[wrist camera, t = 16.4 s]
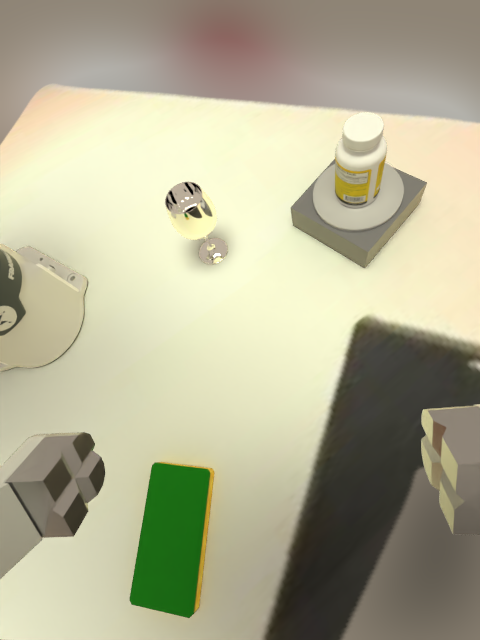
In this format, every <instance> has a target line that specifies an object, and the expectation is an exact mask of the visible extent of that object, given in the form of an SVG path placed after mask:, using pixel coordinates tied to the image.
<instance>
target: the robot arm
mask: <svg viewBox="0 0 480 640" xmlns="http://www.w3.org/2000/svg"><path fill="white" fill-rule="evenodd" d="M87 283H88V281H87V278H86V277H84V276H83V275H81V274H79V273H77V272H75V271H74V270H72V269H70V268H68V267H66V266H65V265H63V264H61V263H59V262H57V261H55V260H54V259H52V258H50V257H48V256H46V255H45V254H43V253H41V252H39V251H37V250H35V249H34V248H32V247H29V246H26V247H23V248H21V249H19V250H17V251H13V250H12V249H10V248H9V247H7V246H6V245H3V244H0V371H4V370H8V369H11V368H14V367H25V368H35V367H40V366H43V365H46V364H48V363H50V362H52V361H54V360H55V359H57V358H58V357H59V356H61V355H62V354H63V353H64V352H65V351H66V350H67V349H68V348H69V347H70V345H71V344H72V343H73V341H74V340H75V338H76V336H77V335H78V333H79V330H80V328H81V325H82V321H83V316H84V303H83V298H84V294H85V291H86V287H87ZM422 426H423V428H424V430H425V432H426V435H425V437H424V438H423V439H422V440H421V449H422V457H423V463H424V467H425V470H426V473H427V476H428V478H429V481H430V483H431V485H432V486H433V487H435V488H436V489H437V490H439V491H440V499H439V504H440V506H441V508H442V511H443V513H444V515H445V517H446V519H447V522H448V524H449V526H450V528H451V531H452V533H453V534H462V535H463V534H464V535H480V404H479V405H474V406H461V407H448V408H434V409H423V412H422ZM94 446H95V443H94V441H93V439H92V437H91V435H90V434H88V433H84V432H80V433H56V434H41V435H34V436H31V437H29V438H28V439H27V440H26V441H25V442H24V443H23V444H22V445H21V446H20V447H19V448H18V449H17V450H16V451H15V452H14V453H13V454H12V456H11V457H10V458H9V459H8V460H7V461H6V462H5V463H4V464H3V465H2V466H1V467H0V579H1V578H2V577H3V576H4V575H5V574H6V573H7V572H8V571H9V570H10V569H11V568H13V567H14V566H15V565H16V564H17V563H18V562H19V561H20V560H21V559H22V558H23V557H24V556H25V555H26V554H27V553H29V552H30V551H31V550H32V549H33V548H34V547H35V546H36V545H37V544H38V543H39V542H40V541H41V540H42V537H67V536H74V535H75V533H76V532H77V530H78V528H79V526H80V525H81V523H82V521H83V519H84V518H85V516H86V514H87V512H88V504H87V503H88V502H89V501H91V500H92V499H93V498H94V497H96V496H97V495H98V493H99V491H100V489H101V487H102V486H103V482H104V477H105V468H104V463H103V461H102V458H101V457H100V456H99V455H98V454H96V453H95V452H94V451H93V448H94ZM0 640H2V639H0Z"/></svg>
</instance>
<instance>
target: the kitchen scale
mask: <svg viewBox="0 0 480 640" xmlns="http://www.w3.org/2000/svg"><path fill="white" fill-rule="evenodd" d="M426 184H427V182H424V181H422V180H420V179H418V178H415V177H413V176H411V175H409V174H407V173H404V172H402V171H400V170H398V169H395V168H394V167H393V166H392V165H391V164H390V163H388V162H386V161H385V164H384V169H383V175H382V180H381V185H380V190H379V194H378V196H377V197H376V199H375V200H374V201H373V202H372V203H370V204H368V205H366V206H364V207H360V208H351V207H347V206H345V205H343V204H341V203H340V202H339V201H338V199H337V198H336V195H335V159H334V160H333V161H332V163H331V164H330V165H329V166H328V167H327V168H326V169H325V170H324V171H323V173H322V174H321V175H320V176H319V177H318V178H317V179H316V180H315V181H314V182H313V184H312V185H311V186H310V187H309V188H308V189H307V190H306V191H305V192H304V193H303V195H302V196H301V197H300V198H299V199H298V200H297V201H296V202H295V203H294V205H293V206H292V207H291V214H292V221H293V226H295V227H297V228H298V229H300V230H302V231H303V232H305V233H307V234H308V235H310V236H312V237H314V238H315V239H317V240H319V241H320V242H322V243H324V244H325V245H327V246H329V247H330V248H332V249H334V250H335V251H337V252H339V253H340V254H342V255H344V256H345V257H347V258H349V259H350V260H352V261H354V262H355V263H357V264H359V265H360V266H362V267H364V268H365V267H366V266H367V265H368V264H369V263H370V261H371V260H372V259H373V258H374V257H375V255H376V254H377V253H378V252H379V251H380V250H381V248H382V247H383V246H384V245H385V244H386V242H387V241H388V240H389V239H390V238H391V237H392V235H393V234H394V233H395V232H396V231H397V229H398V228H399V227H400V226H401V225H402V223H403V222H404V221H405V220H406V219H407V218H408V216H409V215H410V214H411V213H412V212H413V210H414V209H415V208H416V207H417V206H418V205H419V203H420V200H421V198H422V195H423V192H424V190H425V187H426Z"/></svg>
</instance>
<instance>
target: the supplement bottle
mask: <svg viewBox="0 0 480 640" xmlns="http://www.w3.org/2000/svg"><path fill="white" fill-rule="evenodd" d="M383 128H384V123H383V120H382V119H381V117H380V116H378V115H376V114H374V113H370V112H363V113H358V114H355V115H353V116H352V117H350V118H349V119H348V120H347V121H346V122H345V124H344V126H343V134H342V138H341V139H340V141H339V142H338V144H337V147H336V153H335V195H336V198H337V199H338V201H339V202H340V203H341V204H343V205H345V206H347V207H351V208H360V207H364V206H366V205H368V204H370V203H372V202H373V201H374V200H375V199H376V197H377V196H378V194H379V190H380V185H381V180H382V175H383V169H384V164H385V159H386V153H387V142H386V140H385V138H384V136H383Z"/></svg>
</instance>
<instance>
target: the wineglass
mask: <svg viewBox="0 0 480 640" xmlns="http://www.w3.org/2000/svg"><path fill="white" fill-rule="evenodd" d="M165 205H166V209H167V213H168V216H169V218H170V221H171V223H172V225H173V227H174V228H175V230H176V231H177V232H178V233H179V234H180V235H181V236H183V237H184V238H186V239H190V240H199V239H202V238H203V239H204V240H205V242H204V243H203V244H202V245H201V247H200V250H199V257H200V259H201V260H202V261H203V262H204V263H206V264H210V265H212V264H217V263H219V262H221V261H222V260H223V259H224V258H225V257H226V255H227V252H228V247H227V244H226V243H225V241H223V240H222V239H219V238H212V239H208V235H209V234H210V233H211V232H212V231H213V229H214V228H215V225H216V222H217V214H216V209H215V206H214V204H213V202H212V201H211V199H210V198H209V196H208V195H207V194H206V193H205V192H204V190H203V189H202V188H201V187H200V186H199V185H197V184H196V183H193V182H183V183H180V184H177V185H176V186H174V187H173V188H172V189H171V190H170V191H169V192H168V194H167V196H166V199H165Z"/></svg>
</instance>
